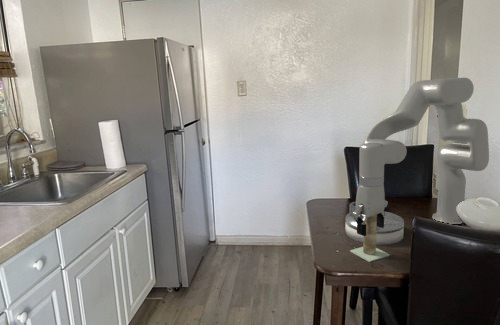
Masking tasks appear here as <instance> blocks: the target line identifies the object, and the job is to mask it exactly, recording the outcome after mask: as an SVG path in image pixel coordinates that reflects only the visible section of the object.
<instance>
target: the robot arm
mask: <svg viewBox="0 0 500 325" xmlns="http://www.w3.org/2000/svg"><path fill="white" fill-rule="evenodd" d="M474 87H475V86H474V84H473V81H472V80H471V79H470V78H469V77H454V78H453V77H451V78H434V79H425V80H424V79H422V80H418V81H415V82H414V83H413V84H411V86H410V88H408V91H407V93H406V94H405V95H404V97H403V99H402V100H401V101H400V104H399V105H398V107H397V109H396V110H395V111H394V112H393V113H391V114H389V115H388V116H386V117H385V118H383V119H382V120H380V121H379V122H378V123H376V124H375V125H374V126H373V127H372V128H371V129H370V131H369V133H368V134H367V136H366V137H365V139H364V141H363V143H362V144H360V146H359V156H358V158H359V159H358V160H359V164H358V166H359V169H358V170H359V172H358V174H359V176H358V177H359V178H358V180H359V182H358V185H357V186H358V187H357V191H356V196H355V202H356V208H355V211H354V212H353V216H354V220H355V221H356V223H357V234H360V235H362V236H366V224H365V222H366V220H367V218H369V217H371V216H374V215H376V214H377V227H380V228H384V217H383V216H385V212H387V206H388V204H389V202H388V201H387V200H386V197H385V195H386V194H385V187H384V186H385V183H384V182H385V165H388V164H390V165H392V164H398V163H400V162H402V161H403V160H405V158H406V156H407V150H408V149H407V147H406V145H405V144H404V143H403V142H402V141H399V140H394V139H387V138H389V137H390V136H393V135H394V134H396V133H400V132H403V131H407V130H409V129H412V128H414V127H416V126H418V125H419V124H420V122H421V120H422V119H423V117H424V116H425V113H426V112H427V110H428V108H429V107H430V106H433V107H434V108H435V111H436V113H437V114H436V115H437V124H438V132H439V137H440V139H441V140H442V141H443V142H446V143H447V144H446V143H445V144H443V145H442V146H440V147H439V149H437V150H438V151H437V163H438V187H437V191H438V192H437V201H436V202H437V203H436V204H437V205H436V212H435V213H433V214H432V217H431V218H432V219H433V220H434V219H435V220H436V221H435V220H434V221H435V222H437V221H440V222H444V223H449V224H448V225H450V224H461V223H462V221H461V220H460V218H459V217H458V215H457V212H456V206H457V205H458V204H459V203H460V202H462V201H464V202H465V196H466V186H467V185H466V184H467V178H466V175H465V173H464V171H463V170H467V171H474V172H481V171H483V170H485V169H486V168H487V167H488V165H489V161H490V148H489V146H490V145H489V132H488V126H487V124H486V122H484V120H481V119H480V118H479V119H478V118H467V117H465V116H464V111H463V110H464V109H463V104H462V103H466V102H467V101H468V100H470V99H471V98H472V96H473V94H474V89H475V88H474ZM363 213H364V214H365V215H364V214H363ZM361 216H362V217H364V218H363V220H362V219H361ZM440 222H439V223H440ZM444 223H443V224H444Z"/></svg>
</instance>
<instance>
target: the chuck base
mask: <svg viewBox="0 0 500 325" xmlns="http://www.w3.org/2000/svg"><path fill="white" fill-rule="evenodd" d="M344 227H345V229H344V230H345V234H346V236H347V237H348V238H350V239H352V240H354V241H356V242H360V243H363V242H364V236H362V235H360V234H357V230H356V229H354V228H352V227H350V226H348V225H347V224H346V223H345V226H344ZM404 228H405V226H404V227H403V228H402V229H401V230H399V231H396V232H392V233H376V246H377V245H378V246H379V245H392V244H395V243H396V244H397V243H398V242H400V241H402V240H403V239H404V230H405V229H404Z"/></svg>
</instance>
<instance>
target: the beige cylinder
mask: <svg viewBox="0 0 500 325" xmlns="http://www.w3.org/2000/svg"><path fill="white" fill-rule="evenodd" d="M364 215H365V214H364ZM365 224H366V236H364V242H362V244H363V246H362V247H363V252H364V253H365V254H367V255H374V254H376V248H377V245H376V227H377V214H376V215H374V216H371V217H369V218H367V220H366V222H365Z"/></svg>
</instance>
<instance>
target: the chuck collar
mask: <svg viewBox="0 0 500 325" xmlns="http://www.w3.org/2000/svg"><path fill="white" fill-rule="evenodd" d="M355 208H356V201H352V202H349V213H347V214H346V215H345V225H346V224H347V225H348V226H350V227H352V228H354V229H356V230H357V223H356V221H355V220H354V216H353V212H354V211H355ZM363 214H364V213H363ZM383 217H384V228H380V227H376V233H392V232H396V231H399V230H401V229H402V228H403V227H404V228H405V220H404V218H402V216H400V215H398V214H395V213H393V212H389V211H385V216H383ZM363 218H364V217H362V216H361V219H362V220H363Z"/></svg>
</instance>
